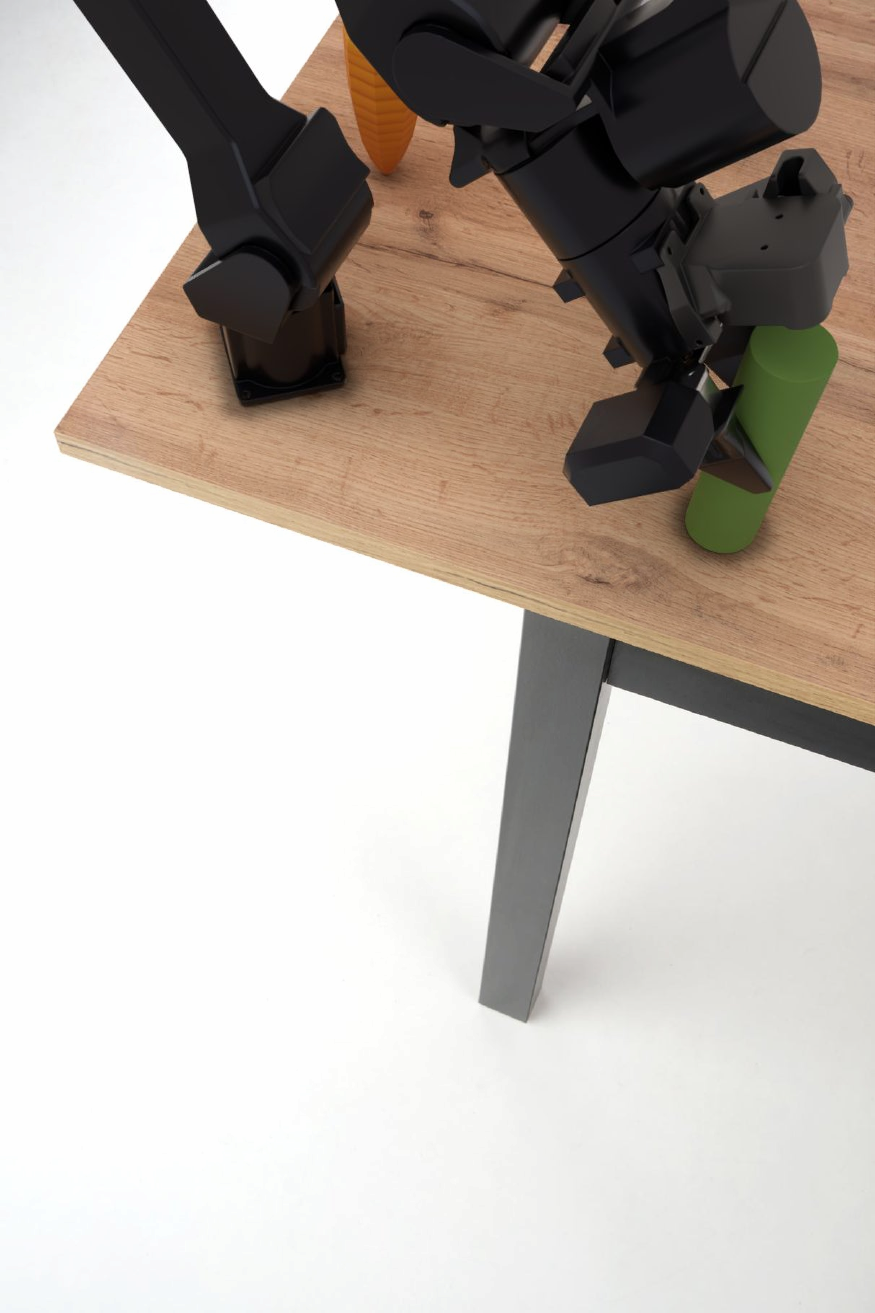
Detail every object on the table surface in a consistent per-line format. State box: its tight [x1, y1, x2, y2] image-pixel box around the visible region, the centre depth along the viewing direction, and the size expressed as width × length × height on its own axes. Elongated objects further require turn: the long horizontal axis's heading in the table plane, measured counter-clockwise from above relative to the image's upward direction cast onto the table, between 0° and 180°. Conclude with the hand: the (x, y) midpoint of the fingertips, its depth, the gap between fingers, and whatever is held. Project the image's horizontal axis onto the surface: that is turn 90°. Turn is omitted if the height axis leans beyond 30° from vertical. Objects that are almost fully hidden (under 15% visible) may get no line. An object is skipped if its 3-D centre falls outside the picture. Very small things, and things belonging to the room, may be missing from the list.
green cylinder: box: [684, 323, 839, 554], centre depth 59 cm, size 4×4×14 cm
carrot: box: [341, 23, 419, 175], centre depth 71 cm, size 5×5×15 cm
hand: (777, 459), depth 59 cm, fingers closed on green cylinder, 4 cm apart
